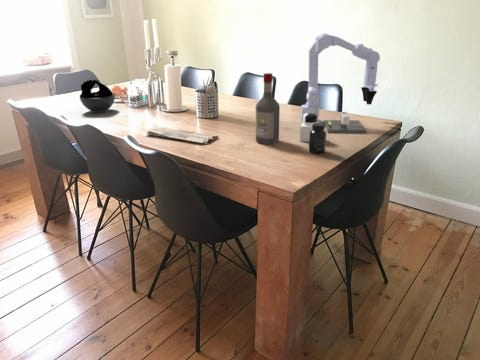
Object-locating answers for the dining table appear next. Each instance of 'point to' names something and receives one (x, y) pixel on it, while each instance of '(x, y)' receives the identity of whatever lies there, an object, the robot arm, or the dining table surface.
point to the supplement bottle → (317, 139)
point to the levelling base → (344, 126)
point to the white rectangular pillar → (344, 118)
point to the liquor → (267, 115)
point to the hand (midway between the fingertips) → (367, 102)
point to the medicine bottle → (307, 126)
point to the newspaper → (181, 135)
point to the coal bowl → (96, 96)
